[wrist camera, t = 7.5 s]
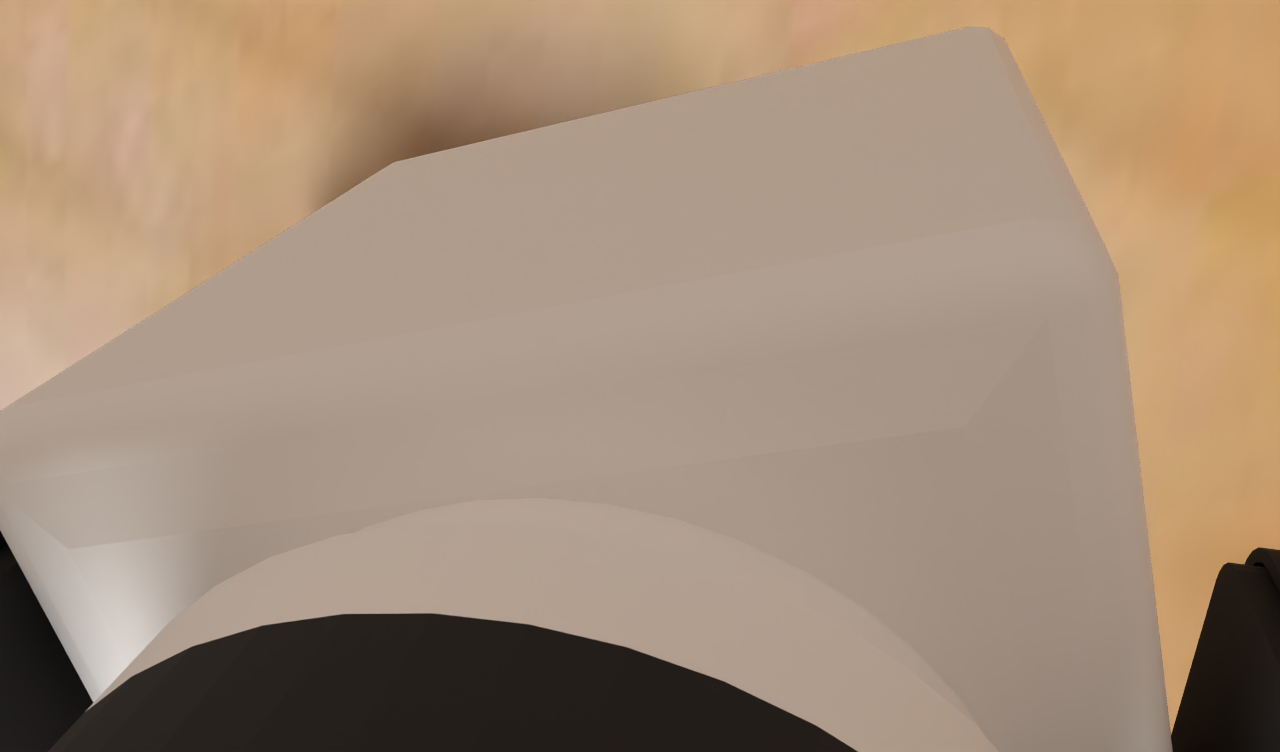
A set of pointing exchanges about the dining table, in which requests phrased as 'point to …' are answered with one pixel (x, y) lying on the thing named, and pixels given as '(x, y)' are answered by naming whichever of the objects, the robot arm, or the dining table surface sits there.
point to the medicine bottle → (627, 448)
